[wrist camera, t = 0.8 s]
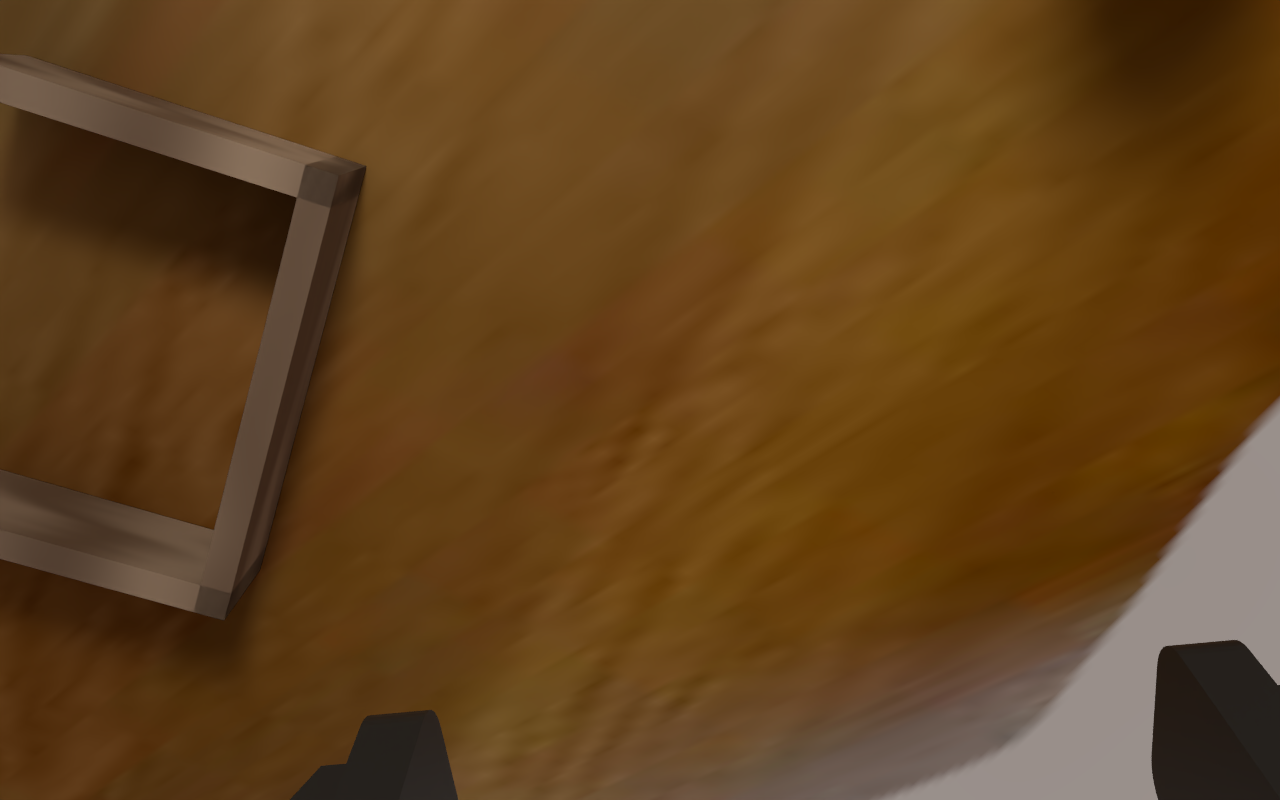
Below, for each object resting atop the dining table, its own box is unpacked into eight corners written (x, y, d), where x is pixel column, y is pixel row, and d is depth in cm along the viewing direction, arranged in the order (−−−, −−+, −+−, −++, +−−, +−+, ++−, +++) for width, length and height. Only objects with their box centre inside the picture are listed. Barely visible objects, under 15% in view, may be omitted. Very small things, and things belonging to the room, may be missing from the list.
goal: (-52, 482, 39) (-123, 525, 35) (26, 55, 36) (-44, 51, 32) (260, 569, 41) (224, 620, 37) (366, 166, 37) (338, 175, 33)
